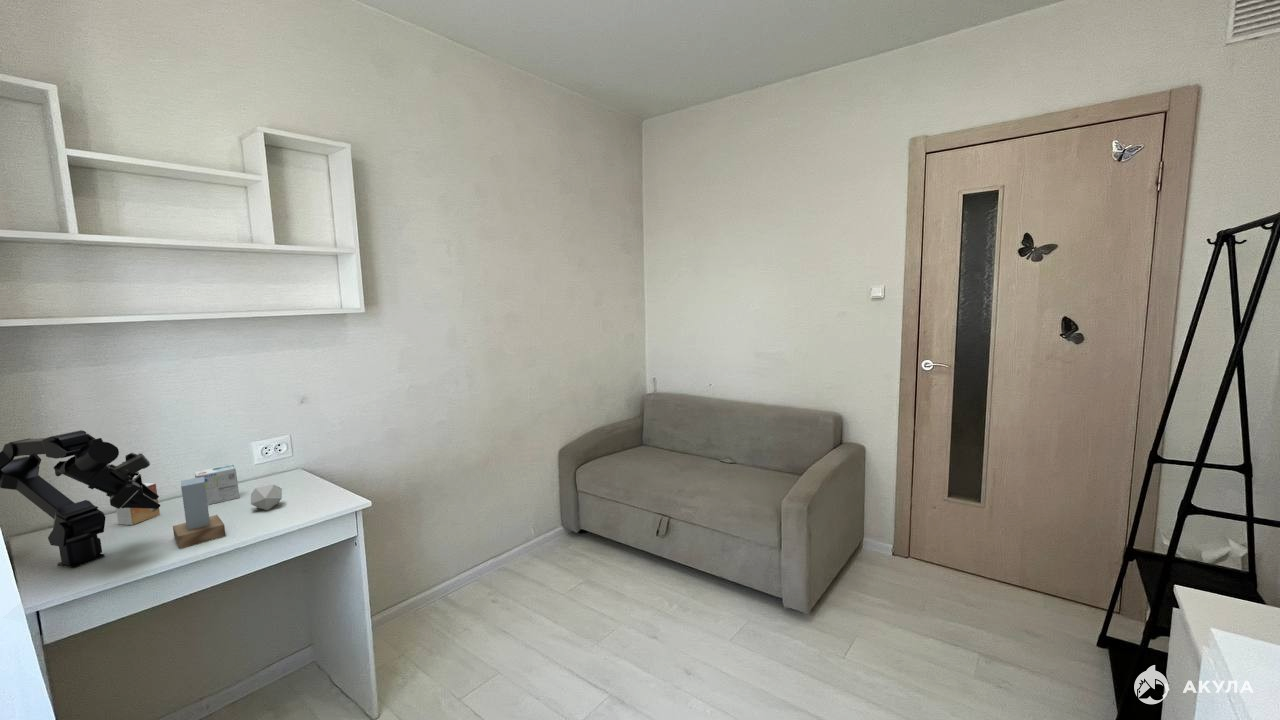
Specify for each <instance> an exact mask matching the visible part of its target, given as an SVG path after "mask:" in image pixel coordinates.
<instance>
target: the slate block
mask: <svg viewBox="0 0 1280 720" xmlns="http://www.w3.org/2000/svg"><path fill="white" fill-rule="evenodd" d="M180 489H181V495H182V496H181V497H182V501H183V503H182V504H183V510H184V516H185V517H184V518H185V523H186V526H187V530H191V529H196V528H200V527H204V526H208V525H210V519H209V517H210V513H209V505H208V504H207V496H206V488H205V481H204V477H199V478H190V479H184V480H180Z"/></svg>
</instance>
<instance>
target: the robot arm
mask: <svg viewBox="0 0 1280 720" xmlns="http://www.w3.org/2000/svg"><path fill="white" fill-rule="evenodd" d="M40 455H45V457H46V458H52V459H64V458H68V457H70V458H68V459H67V460H60V461H58V462H57V463H56V464H55V466H53V469H54V474H55V476H56V477H60V476H66V477H68V478H70V479H73V480H75V481H77V482H78V483H79V482H80V483H81V484H84V485H86V486H87V488H88V489H91V490H92V491H93V490H94V489H96V490H98V491H100V492H102V493H104V494H105V495H106V496H107V497H108V498H109V504H110V506H111V507H114V508H115V509H116V508H118V509H119V508H120V507H121V508H149V509H158V508H159V509H160V507H161V504H160V503H159V502H158V503H157V502H156V501H154V500H156V499H157V498H158V499H159V497H160V495H159V494H158V493H157V494H156V493H155V492H153V491H152V490H151V489H150V488H148V487H147V486H146V485H145V484H143V483H144V482H143V480H142V474H141V473H140V472H139V471H142V470H145V469H146V468H148V467H150V465H151V463H150V460H149V459H147V458H146V457H145V455H144V454H143V453H137V454H136V453H134V452H130V453H128V454H126V455H125V461H122V463H120V464H118V465H115V464H113V463H112V462H114V461H115V460H117V458H118V457H119V455H120V451H119V448H118V447H117V446H116V445H115V444H113V443H110V442H107V441H103V439H102V438H101V437H100V438H96V437H95V436H92V435H91V434H89V433H87V432H86V431H85V430H83V429H82V430H76V431H75V430H74V431H71V432H65V433H62V434H57V435H52V436H49V437H48V436H47V437H42V438H24V439H19V440H13V441H9V442H8V443H4V445H3V447H2V450H1V451H0V489H4V490H11V491H12V490H13V491H17V492H19V493H20V494H21V495H23V497H25V498H26V499H27V500H29V501H30V502H31V503H32V504H34V505H35V506H36V507H38V508H39V509H41V511H43V512H44V513H46V514H47V515H48V516H49V517H51V518H52V519H53V525H52V530H51V532H50V533H49V535H48V537H47V538H48V539H47V540H48V542H49V544H50V546H54V547H58V550H59V555H60V561H61V562H57V566H61V567H64V568H70V569H75V568H78V567H80V566H83V565H86V564H88V563H91V562H94V561H95V560H99V559H101V558H103V557H105V554H104V553H103V548H102V543H101V541H102V540H101V538H100V537H98V535H99V534H102V533H105V527H106V526H105V524H106V518H107V517H106V516H105V513H104V512H103V511H101V509H99V507H98V506H96V505H94V503H92V502H91V501H90V500H88V499H85V500H82V501H78V502H74V501H73V500H72V499H71V498H69V497H67V496H66V494H64V493H62V492H61V491H60V490H59V489H57V488H56V487H55V486H54V485H53V484H51V483H49V482H48V481H47V480H46V479H44V478H43V477H42V476H41V475H39V473H40V472H39V471H40V464H41V461H42V458H41V457H40ZM15 457H18V458H15ZM135 476H136V477H135ZM153 499H154V500H153Z"/></svg>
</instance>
